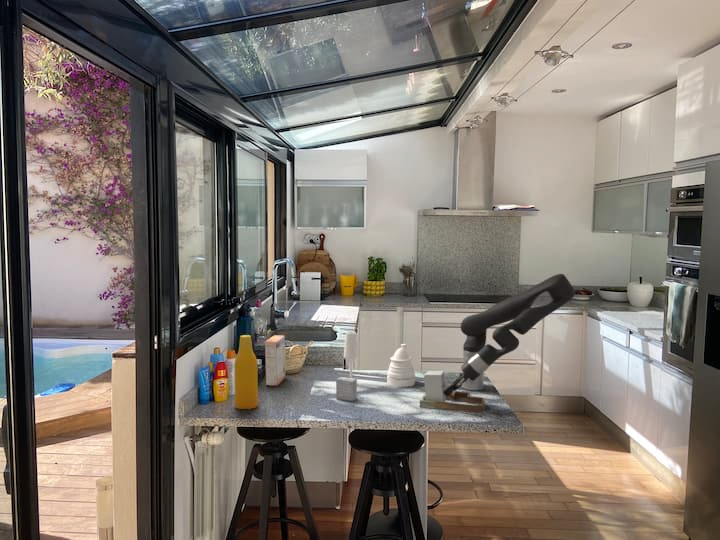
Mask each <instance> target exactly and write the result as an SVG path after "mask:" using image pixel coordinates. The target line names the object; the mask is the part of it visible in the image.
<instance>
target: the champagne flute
mask: <svg viewBox="0 0 720 540" xmlns="http://www.w3.org/2000/svg"><path fill="white" fill-rule="evenodd" d="M344 339H345V340H344V351H343V358H344V360H345V361H346V362H347V363H348V364H349V378H353V363H355V362H356V361H357V359H358V358H359V351H358V350H359V349H358V341H357V340H358V339H357V332H356V331H347V332H345V338H344ZM358 385H359V382H357V386H358Z"/></svg>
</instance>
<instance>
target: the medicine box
mask: <svg viewBox="0 0 720 540" xmlns="http://www.w3.org/2000/svg"><path fill="white" fill-rule="evenodd" d="M335 383H336V384H335V387H336V389H335V391H336V393H335V395H336V396H335V397H336V398H335V399H336V400H341V401H347V402H348V401H349V402H354V401H355V400H357V398H358V385H357V383H358V380H357V378H353V377H352V378H350V377H344V376H342V377H341V376H339V377H338V378H337V379H335Z"/></svg>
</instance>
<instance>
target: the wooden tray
mask: <svg viewBox="0 0 720 540" xmlns="http://www.w3.org/2000/svg"><path fill="white" fill-rule="evenodd" d="M485 400H486V399H485V397H479V396H471V392H469V391H458V390H456V391H452V392H451V393H450V394H449V395H448V396H446V401H450V402H446V401H445V402H435V401H426V397H425V392H424V393H423V395H422V397H421V398H420V399H419V408H427V407H429V408H430V409H438V408H441V409H440V410H447V411H449V410H451V411H458V412H459V411H460V412H461V411H462V412H470V411H471V412H472V413H480V412H482V414H483V412H484V409H485V405H486V404H485V403H486V401H485ZM455 402H463V403H455ZM464 403H465V404H464ZM466 403H467V404H466ZM477 403H478V404H477ZM429 408H428V409H429ZM471 412H470V413H471Z"/></svg>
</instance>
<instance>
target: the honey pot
mask: <svg viewBox="0 0 720 540" xmlns="http://www.w3.org/2000/svg"><path fill="white" fill-rule="evenodd" d="M406 346H407V344H406V343H401V344H400V347H399V348H397V350H396V351H395V352H394V354H393V356H391V357H390V361H391V362H390V363H389V367H388V370H387V371H386V373H387V375H386V376H387V377H386V383H387V385H389V386H391V385H392V386H391V387H395V386H397V387H396V388H408V386H409V387H413V386H414V385H415V384H416V379H415V378H416V372H415V370H414V366H413V364H412V363H413V362H412V357H411V356H409V354H408V352H407V351H406V349H405V348H406ZM412 385H413V386H412Z"/></svg>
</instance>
